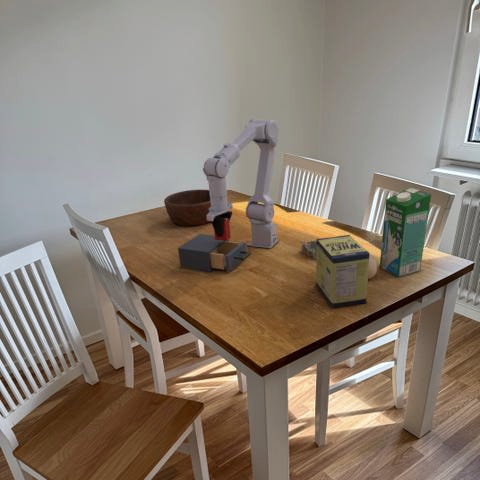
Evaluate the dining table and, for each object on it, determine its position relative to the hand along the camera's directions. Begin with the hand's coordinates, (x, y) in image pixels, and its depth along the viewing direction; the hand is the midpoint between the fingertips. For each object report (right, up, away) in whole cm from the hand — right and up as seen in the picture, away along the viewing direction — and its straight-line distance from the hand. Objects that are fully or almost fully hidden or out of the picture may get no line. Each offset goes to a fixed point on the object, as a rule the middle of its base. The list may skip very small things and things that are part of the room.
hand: (222, 234), depth 158 cm
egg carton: (+33, -6, +6) cm, 35 cm away
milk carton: (+58, -13, -10) cm, 61 cm away
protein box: (+36, -22, -21) cm, 48 cm away
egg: (+47, -17, -14) cm, 51 cm away
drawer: (+2, -10, +2) cm, 10 cm away
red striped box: (0, -1, +1) cm, 2 cm away
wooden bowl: (-14, +16, +49) cm, 54 cm away
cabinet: (-6, -9, +7) cm, 13 cm away
